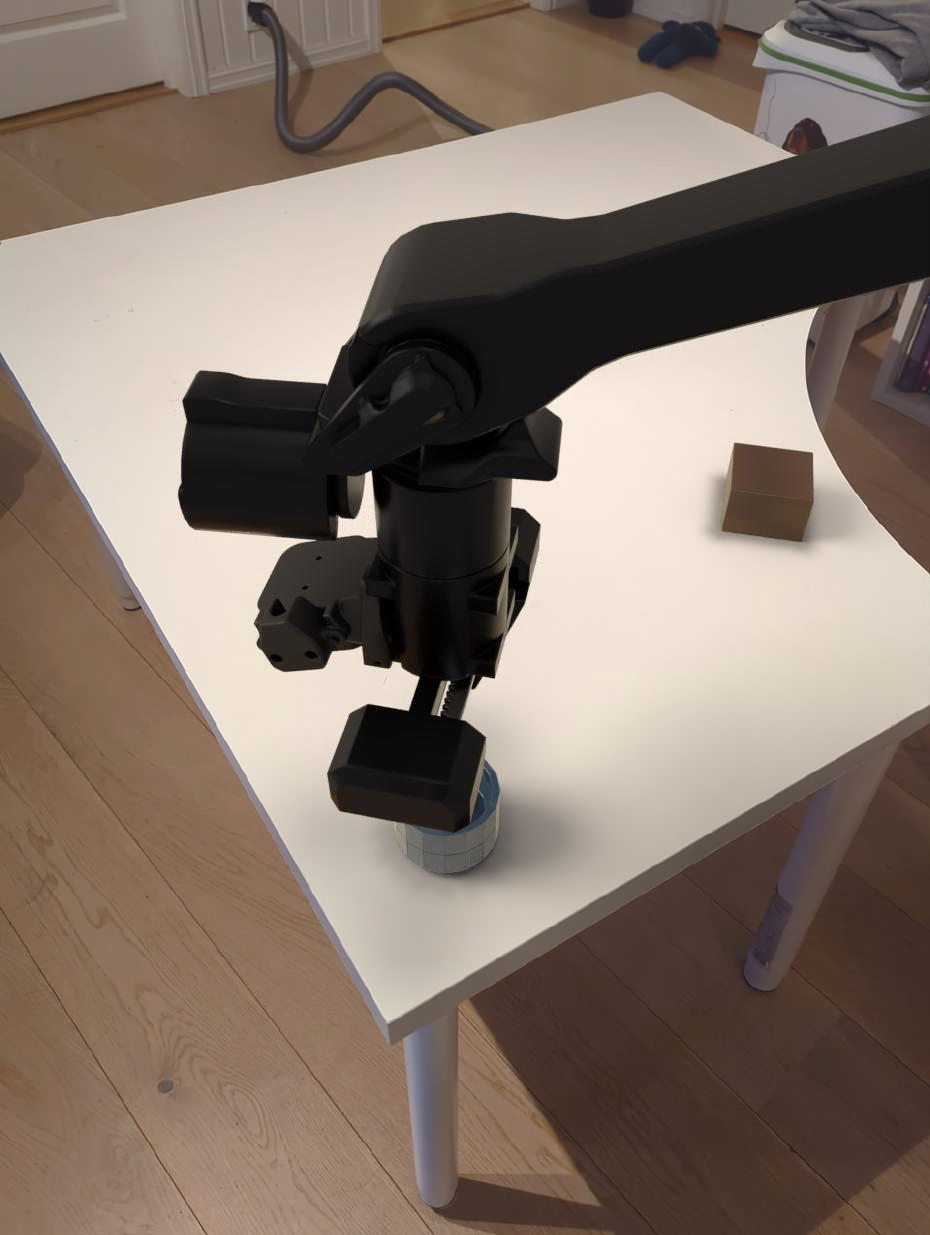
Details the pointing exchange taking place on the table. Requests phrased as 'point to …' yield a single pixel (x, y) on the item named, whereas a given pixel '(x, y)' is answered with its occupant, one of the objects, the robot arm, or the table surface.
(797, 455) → the walnut block
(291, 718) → the table surface
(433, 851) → the bowl
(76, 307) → the table surface
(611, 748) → the table surface
